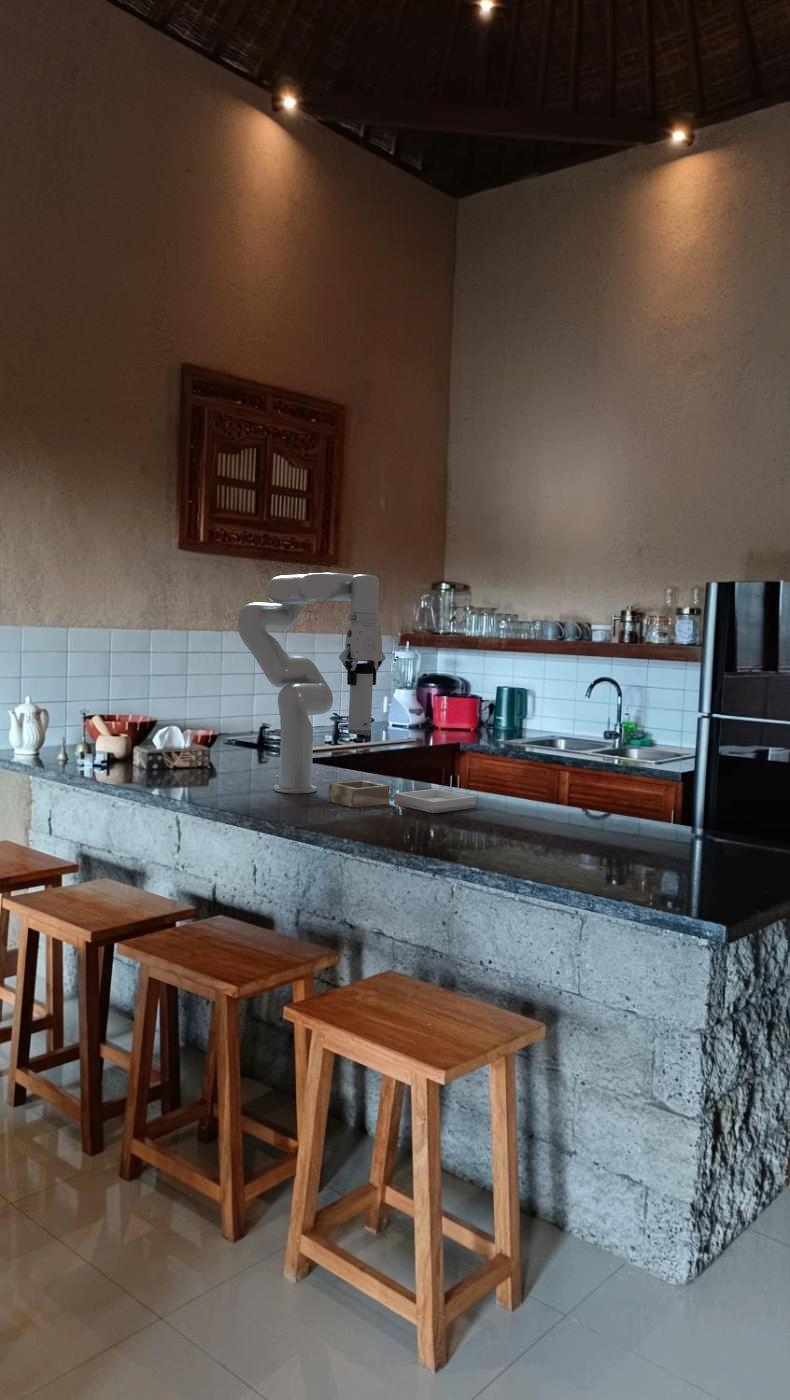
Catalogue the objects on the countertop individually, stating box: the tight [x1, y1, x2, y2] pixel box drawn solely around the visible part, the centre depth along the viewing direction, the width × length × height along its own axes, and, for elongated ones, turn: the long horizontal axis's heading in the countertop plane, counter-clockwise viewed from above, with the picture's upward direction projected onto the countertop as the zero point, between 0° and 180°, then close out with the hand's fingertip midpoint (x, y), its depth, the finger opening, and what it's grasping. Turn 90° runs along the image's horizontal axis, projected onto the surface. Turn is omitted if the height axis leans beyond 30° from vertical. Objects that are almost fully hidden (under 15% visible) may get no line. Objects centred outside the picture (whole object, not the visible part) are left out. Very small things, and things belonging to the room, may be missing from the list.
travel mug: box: [347, 662, 375, 735], centre depth 282 cm, size 6×7×20 cm
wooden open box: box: [328, 779, 390, 808], centre depth 284 cm, size 12×12×5 cm
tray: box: [393, 788, 477, 814], centre depth 282 cm, size 16×16×3 cm
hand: (361, 684), depth 282 cm, fingers closed on travel mug, 6 cm apart
